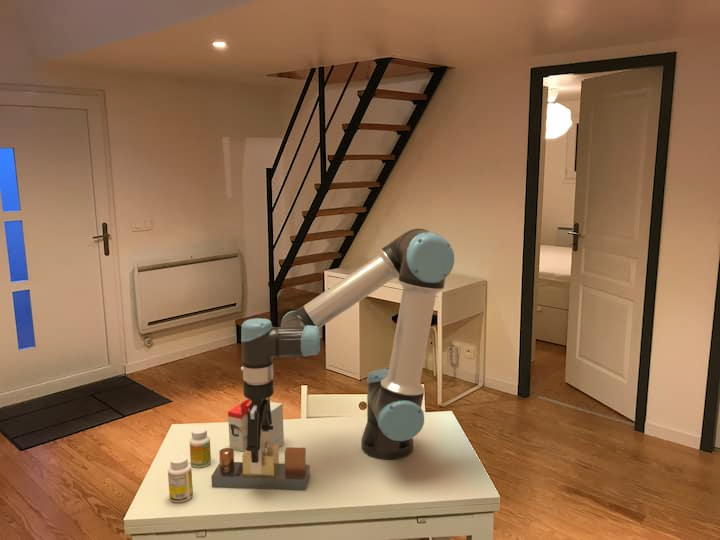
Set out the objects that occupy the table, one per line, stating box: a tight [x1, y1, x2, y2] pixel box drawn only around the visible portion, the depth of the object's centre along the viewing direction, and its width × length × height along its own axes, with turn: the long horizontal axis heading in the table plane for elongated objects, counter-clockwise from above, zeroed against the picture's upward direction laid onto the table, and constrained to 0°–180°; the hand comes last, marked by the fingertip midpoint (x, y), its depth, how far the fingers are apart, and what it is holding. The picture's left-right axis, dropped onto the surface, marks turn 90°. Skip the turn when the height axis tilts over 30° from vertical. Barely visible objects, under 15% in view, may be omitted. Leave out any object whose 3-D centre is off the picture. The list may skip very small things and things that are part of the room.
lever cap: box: [241, 442, 280, 477], centre depth 152 cm, size 8×6×7 cm
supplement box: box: [248, 401, 285, 448], centre depth 171 cm, size 7×7×13 cm
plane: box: [210, 446, 311, 492], centre depth 152 cm, size 24×8×9 cm, turn 86°
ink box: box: [227, 398, 252, 452], centre depth 172 cm, size 8×5×15 cm, turn 155°
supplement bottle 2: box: [189, 426, 212, 469], centre depth 161 cm, size 5×5×10 cm
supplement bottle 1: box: [167, 454, 194, 503], centre depth 144 cm, size 6×6×10 cm
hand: (261, 463), depth 152 cm, fingers open, 9 cm apart
